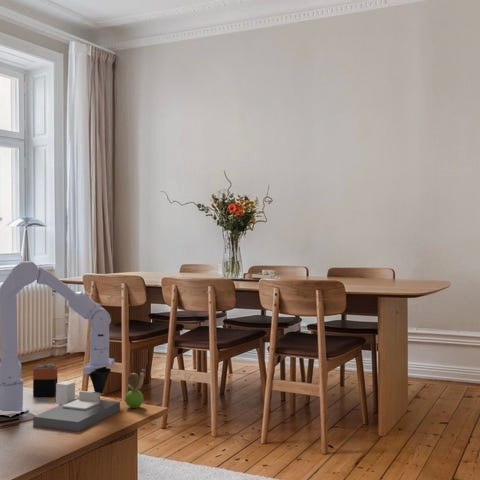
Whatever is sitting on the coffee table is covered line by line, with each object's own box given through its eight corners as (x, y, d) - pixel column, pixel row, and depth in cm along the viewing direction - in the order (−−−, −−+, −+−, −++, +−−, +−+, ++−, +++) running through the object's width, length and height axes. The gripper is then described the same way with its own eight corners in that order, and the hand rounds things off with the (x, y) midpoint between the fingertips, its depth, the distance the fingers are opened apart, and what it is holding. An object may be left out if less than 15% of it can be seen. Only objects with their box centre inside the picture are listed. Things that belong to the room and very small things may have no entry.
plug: (55, 406, 191) (56, 383, 191) (63, 403, 194) (63, 381, 194) (67, 407, 189) (67, 384, 189) (75, 404, 193) (75, 382, 193)
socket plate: (33, 425, 171) (33, 416, 171) (78, 405, 191) (78, 397, 191) (77, 431, 166) (78, 421, 166) (119, 410, 187) (120, 401, 187)
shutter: (62, 407, 180) (62, 397, 180) (79, 400, 188) (79, 390, 188) (85, 410, 177) (85, 399, 177) (101, 402, 185) (101, 392, 185)
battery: (54, 397, 202) (54, 365, 202) (32, 397, 201) (32, 365, 201) (57, 393, 206) (57, 363, 206) (36, 393, 206) (36, 363, 206)
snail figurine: (137, 411, 186) (138, 370, 186) (121, 408, 189) (121, 368, 189) (149, 407, 190) (150, 367, 190) (133, 404, 194) (133, 365, 194)
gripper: (98, 353, 183) (97, 400, 183) (123, 345, 197) (122, 389, 197) (77, 351, 185) (76, 397, 185) (103, 343, 199) (102, 387, 199)
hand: (98, 393), depth 191 cm, fingers closed
